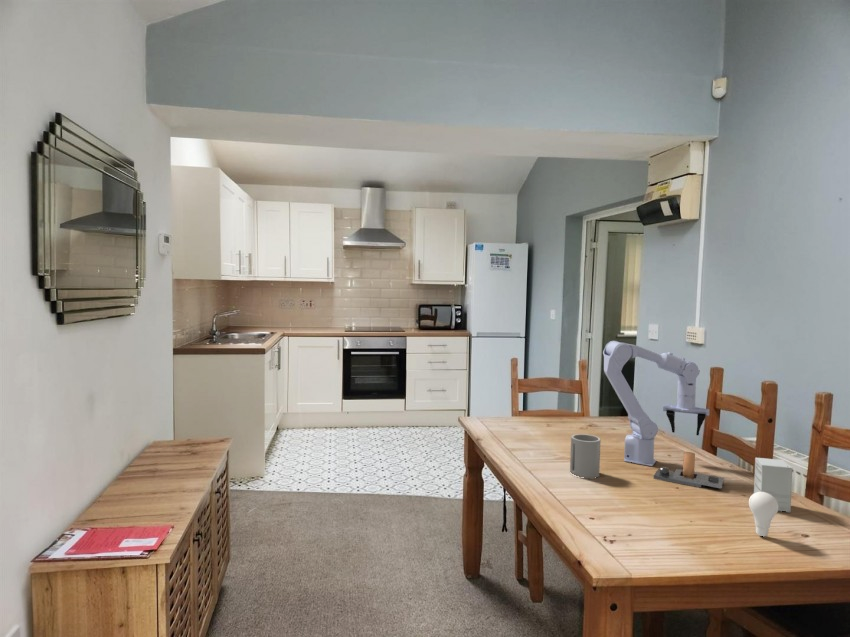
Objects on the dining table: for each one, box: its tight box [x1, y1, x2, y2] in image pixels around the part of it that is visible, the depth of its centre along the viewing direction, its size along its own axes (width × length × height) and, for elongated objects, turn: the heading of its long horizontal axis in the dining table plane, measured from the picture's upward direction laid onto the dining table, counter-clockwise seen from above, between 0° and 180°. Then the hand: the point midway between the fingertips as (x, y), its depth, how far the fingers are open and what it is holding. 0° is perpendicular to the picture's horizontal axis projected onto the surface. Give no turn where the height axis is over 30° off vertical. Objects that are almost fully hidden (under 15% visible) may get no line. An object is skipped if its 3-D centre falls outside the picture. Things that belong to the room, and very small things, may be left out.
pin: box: [682, 451, 696, 478], centre depth 166 cm, size 3×3×9 cm
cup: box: [569, 433, 601, 479], centre depth 171 cm, size 9×9×12 cm
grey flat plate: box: [653, 466, 724, 489], centre depth 166 cm, size 19×8×3 cm, turn 57°
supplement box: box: [753, 457, 793, 513], centre depth 147 cm, size 7×7×13 cm
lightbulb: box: [748, 492, 779, 538], centre depth 128 cm, size 6×6×11 cm
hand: (685, 433), depth 184 cm, fingers open, 7 cm apart
